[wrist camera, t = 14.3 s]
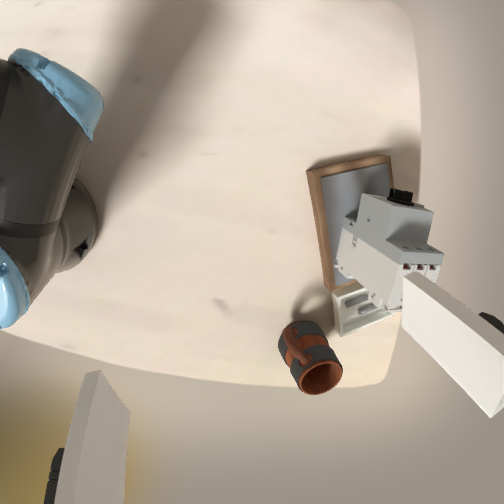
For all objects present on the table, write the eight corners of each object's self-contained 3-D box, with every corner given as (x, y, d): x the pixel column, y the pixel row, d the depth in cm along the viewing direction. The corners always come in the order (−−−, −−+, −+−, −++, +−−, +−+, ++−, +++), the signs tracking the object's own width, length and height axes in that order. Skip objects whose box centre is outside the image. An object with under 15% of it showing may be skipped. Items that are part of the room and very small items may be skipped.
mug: (294, 298, 52) (320, 337, 42) (328, 336, 57) (354, 374, 46) (256, 329, 53) (272, 373, 42) (293, 362, 58) (313, 404, 47)
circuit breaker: (389, 184, 45) (455, 206, 31) (372, 267, 50) (425, 310, 36) (351, 177, 43) (414, 197, 30) (334, 266, 48) (384, 314, 34)
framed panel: (324, 285, 53) (331, 293, 50) (305, 170, 45) (313, 173, 42) (390, 261, 54) (399, 267, 51) (381, 154, 46) (391, 156, 43)
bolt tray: (335, 329, 57) (340, 337, 54) (330, 290, 53) (337, 297, 51) (386, 308, 58) (393, 315, 55) (386, 270, 54) (394, 276, 52)
